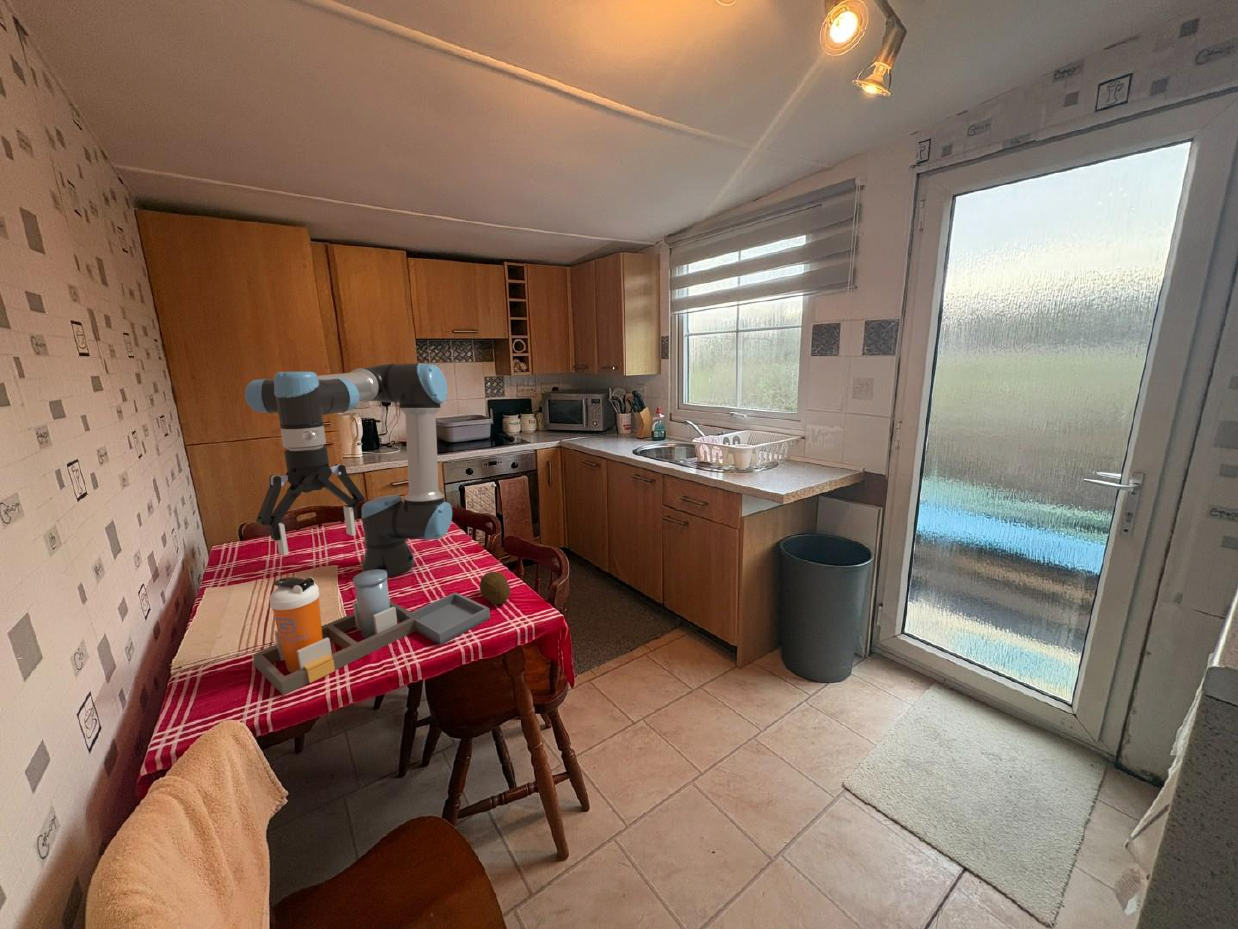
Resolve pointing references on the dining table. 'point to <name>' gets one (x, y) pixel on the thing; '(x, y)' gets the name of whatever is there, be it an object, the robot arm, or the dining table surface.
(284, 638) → the shaker bottle
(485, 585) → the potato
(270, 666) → the rack
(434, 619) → the tray
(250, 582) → the dining table surface
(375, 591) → the canister
